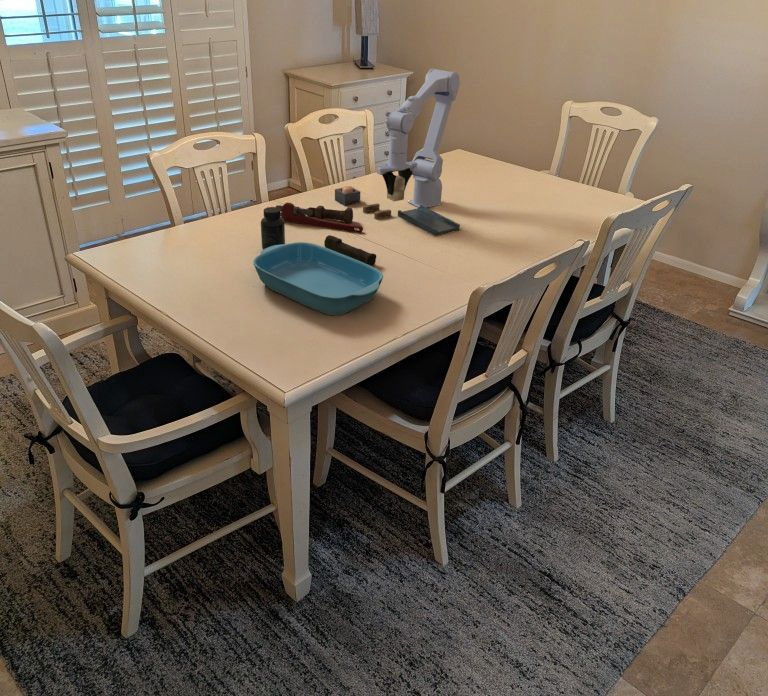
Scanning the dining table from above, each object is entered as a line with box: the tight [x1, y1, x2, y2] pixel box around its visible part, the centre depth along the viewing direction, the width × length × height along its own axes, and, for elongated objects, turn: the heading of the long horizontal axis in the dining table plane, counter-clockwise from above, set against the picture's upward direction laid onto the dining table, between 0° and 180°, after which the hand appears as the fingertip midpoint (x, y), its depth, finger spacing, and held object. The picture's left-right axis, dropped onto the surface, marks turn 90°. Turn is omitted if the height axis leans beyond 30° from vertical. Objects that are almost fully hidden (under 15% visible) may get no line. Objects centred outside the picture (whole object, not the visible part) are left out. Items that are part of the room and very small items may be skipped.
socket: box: [362, 203, 392, 220], centre depth 229 cm, size 6×8×2 cm
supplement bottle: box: [260, 206, 286, 250], centre depth 199 cm, size 7×7×12 cm
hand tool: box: [323, 234, 377, 267], centre depth 199 cm, size 19×4×5 cm, turn 47°
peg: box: [386, 174, 406, 202], centre depth 223 cm, size 4×4×7 cm
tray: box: [397, 205, 461, 237], centre depth 224 cm, size 10×20×2 cm, turn 36°
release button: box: [341, 185, 354, 193], centre depth 238 cm, size 4×4×4 cm
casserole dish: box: [252, 241, 384, 316], centre depth 179 cm, size 37×22×7 cm, turn 52°
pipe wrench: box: [274, 202, 364, 234], centre depth 217 cm, size 7×2×30 cm
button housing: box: [334, 185, 361, 207], centre depth 238 cm, size 6×6×4 cm
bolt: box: [307, 205, 354, 224], centre depth 222 cm, size 6×5×15 cm
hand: (395, 192), depth 224 cm, fingers closed on peg, 4 cm apart
